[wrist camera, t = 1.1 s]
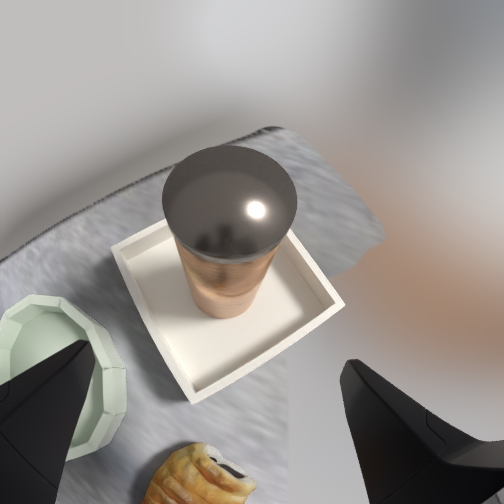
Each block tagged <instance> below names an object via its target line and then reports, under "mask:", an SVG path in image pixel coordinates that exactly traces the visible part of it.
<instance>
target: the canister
mask: <svg viewBox="0 0 504 504" xmlns="http://www.w3.org/2000/svg"><path fill="white" fill-rule="evenodd" d="M162 205H163V210H164V214H165V218H166V221H167V224H168V227H169V229H170V231H171V233H172V235H173V236H174V240H175V243H176V247H177V250H178V253H179V257H180V260H181V263H182V266H183V269H184V273H185V276H186V279H187V282H188V285H189V288H190V291H191V294H192V297H193V300H194V302H195V303H196V305H197V306H198V307H199V309H200V310H201V311H203V312H204V313H205V314H207V315H209V316H211V317H214V318H218V319H230V318H234V317H237V316H239V315H241V314H242V313H244V312H245V311H246V310H247V309H248V308H249V307H250V306H251V304H252V303H253V301H254V299H255V296H256V294H257V292H258V290H259V288H260V286H261V284H262V281H263V279H264V277H265V275H266V273H267V271H268V269H269V266H270V264H271V262H272V260H273V258H274V256H275V253H276V251H277V249H278V247H279V245H280V243H281V242H282V241H283V239H284V238H285V236H286V235H287V233H288V231H289V229H290V227H291V224H292V222H293V220H294V217H295V214H296V210H297V194H296V190H295V187H294V184H293V182H292V180H291V178H290V177H289V175H288V174H287V172H286V171H285V170H284V169H283V168H282V167H281V166H280V165H279V164H278V163H277V162H276V161H274V160H273V159H272V158H270V157H268V156H267V155H265V154H263V153H261V152H258V151H256V150H253V149H250V148H246V147H240V146H216V147H211V148H207V149H203V150H200V151H198V152H196V153H194V154H192V155H190V156H188V157H187V158H185V159H184V160H183V161H181V162H180V163H179V164H178V165H177V166H176V167H175V168H174V169H173V171H172V172H171V173H170V175H169V177H168V178H167V180H166V183H165V185H164V189H163V194H162Z"/></svg>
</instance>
